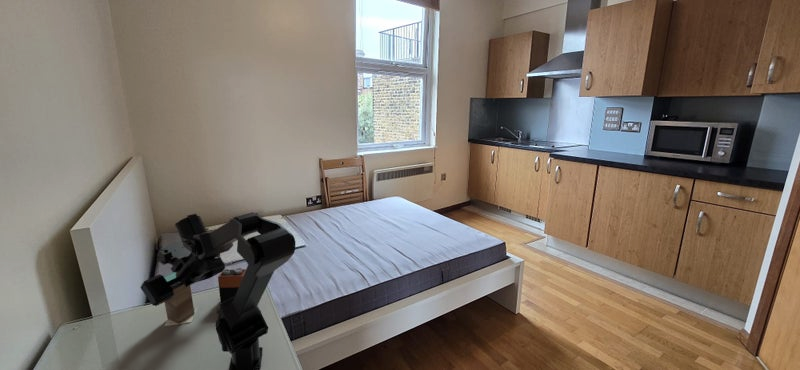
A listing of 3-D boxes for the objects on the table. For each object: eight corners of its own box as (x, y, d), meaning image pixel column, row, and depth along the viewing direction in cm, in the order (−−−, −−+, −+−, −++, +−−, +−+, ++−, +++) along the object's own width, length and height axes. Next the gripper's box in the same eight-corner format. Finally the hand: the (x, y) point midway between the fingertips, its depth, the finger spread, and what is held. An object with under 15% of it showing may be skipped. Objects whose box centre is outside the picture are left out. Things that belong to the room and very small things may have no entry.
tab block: (194, 313, 90) (188, 275, 86) (178, 323, 86) (171, 283, 82) (183, 309, 91) (177, 271, 88) (167, 319, 87) (160, 279, 84)
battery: (245, 304, 95) (242, 273, 93) (220, 305, 94) (216, 274, 92) (249, 295, 100) (247, 265, 97) (225, 296, 99) (222, 266, 96)
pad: (190, 322, 87) (190, 321, 87) (164, 326, 85) (164, 325, 85) (196, 308, 92) (196, 307, 92) (172, 312, 90) (171, 311, 90)
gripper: (213, 223, 89) (190, 252, 96) (139, 251, 73) (116, 283, 79) (237, 256, 89) (212, 282, 95) (167, 291, 72) (142, 320, 78)
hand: (174, 290), depth 87 cm, fingers open, 9 cm apart
